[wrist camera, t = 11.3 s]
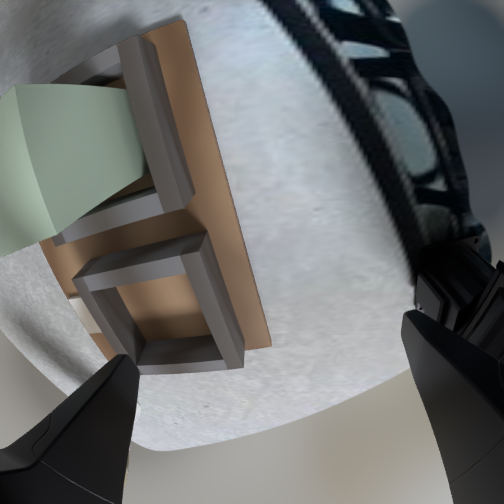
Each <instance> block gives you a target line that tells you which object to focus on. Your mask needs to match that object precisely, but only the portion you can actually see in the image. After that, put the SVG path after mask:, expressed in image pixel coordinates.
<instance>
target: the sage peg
mask: <svg viewBox="0 0 504 504" xmlns="http://www.w3.org/2000/svg"><path fill="white" fill-rule="evenodd" d="M149 172H150V169H149V166H148V163H147V160H146V156H145V153H144V150H143V146H142V143H141V140H140V136H139V133H138V129H137V126H136V122H135V118H134V115H133V111H132V107H131V103H130V100H129V96H128V92H127V89H119V88H110V87H100V86H87V85H70V84H16V85H14V86H13V87H11V88H10V89H9V90H8V91H7V92H6V93H5V94H4V95H3V96H2V97H1V98H0V258H2V257H4V256H6V255H8V254H11V253H13V252H15V251H18V250H20V249H22V248H25V247H27V246H30V245H32V244H34V243H37V242H39V241H42V240H44V239H47V238H50V237H52V236H55V235H57V234H59V233H60V232H61V231H62V230H64V229H65V228H66V227H68V226H69V225H70V224H72V223H73V222H74V221H76V220H77V219H79V218H80V217H81V216H83V215H84V214H86V213H87V212H88V211H90V210H91V209H93V208H94V207H96V206H97V205H98V204H100V203H101V202H103V201H104V200H106V199H107V198H109V197H110V196H112V195H113V194H115V193H117V192H118V191H120V190H121V189H123V188H124V187H126V186H127V185H129V184H131V183H132V182H134V181H136V180H137V179H139V178H140V177H142V176H144V175H145V174H147V173H149Z"/></svg>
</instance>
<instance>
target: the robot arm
mask: <svg viewBox="0 0 504 504" xmlns="http://www.w3.org/2000/svg"><path fill="white" fill-rule="evenodd" d="M479 243H480V237H479V236H478V235H477V234H472V235H468V236H464V237H460V238H456V239H452V240H448V241H444V242H440V243H436V244H432V245H428V246H425V247H424V248H423V249H422V250H421V257H420V270H419V274H418V280H417V289H416V305H415V308H416V309H414V310H410V311H406V312H405V313H404V314H403V320H402V328H401V338H402V341H403V344H404V347H405V351H406V354H407V357H408V361H409V364H410V368H411V371H412V375H413V378H414V381H415V384H416V386H417V389H418V391H419V394H420V396H421V399H422V401H423V404H424V407H425V409H426V412H427V415H428V417H429V420H430V423H431V426H432V429H433V432H434V435H435V438H436V441H437V444H438V447H439V451H440V454H441V457H442V460H443V464H444V467H445V471H446V475H447V478H448V482H449V486H450V490H451V495H452V498H453V503H454V504H504V262H503V261H501V260H499V262H498V263H497V265H496V267H497V268H496V269H495V268H494V267H493V266H492V265H491V264H490V263H489V262H488V261H486V260H485V259H484V258H483V257H482V256H481V255H480V254H478V250H479ZM427 251H428V253H427V254H426V252H427ZM423 311H425V313H426V314H427V315H426V314H424V313H422V312H423ZM139 379H140V372H139V369H138V367H137V366H136V364H135V363H134V362H133V360H132V359H131V357H130V356H129V355H128V354H117V355H116V356H114V357H113V358H112V359H111V360H110V361H109V362H108V363H106V364H105V365H104V366H103V367H102V368H101V369H100V370H98V371H97V372H96V373H95V374H94V375H93V376H92V377H90V378H89V379H88V380H87V381H86V382H85V383H84V384H82V385H81V386H80V387H79V388H78V389H77V390H76V391H74V392H73V393H72V394H71V395H70V396H69V397H68V398H67V399H65V400H64V401H63V402H62V403H61V404H60V405H59V406H58V407H56V408H55V409H54V410H53V411H52V413H50V414H49V415H47V416H46V417H45V418H44V419H43V420H42V421H41V422H40V423H38V424H37V425H36V426H35V427H33V428H32V429H31V430H30V431H28V432H27V433H26V434H24V435H23V436H22V437H20V438H19V439H18V440H16V441H15V442H14V443H12V444H11V445H9V446H8V447H6V448H3V449H0V504H122V498H123V489H124V482H125V474H126V467H127V461H128V454H129V448H130V442H131V437H132V431H133V426H134V420H135V415H136V408H137V398H138V388H139Z"/></svg>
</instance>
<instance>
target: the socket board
mask: <svg viewBox="0 0 504 504" xmlns="http://www.w3.org/2000/svg"><path fill="white" fill-rule="evenodd" d="M50 84H70V85H87V86H100V87H110V88H119V89H127V92H128V96H129V100H130V103H131V107H132V111H133V115H134V118H135V122H136V126H137V129H138V133H139V136H140V140H141V143H142V146H143V150H144V153H145V156H146V160H147V163H148V166H149V169H150V172H149V173H147V174H145V175H144V176H142V177H140V178H139V179H137V180H136V181H134V182H132V183H131V184H129V185H127V186H126V187H124V188H123V189H121V190H120V191H118V192H117V193H115V194H113V195H112V196H110V197H109V198H107V199H106V200H104V201H103V202H101V203H100V204H98V205H97V206H96V207H94V208H93V209H91V210H90V211H88V212H87V213H86V214H84V215H83V216H81V217H80V218H79V219H77V220H76V221H74V222H73V223H72V224H70V225H69V226H68V227H66V228H65V229H64V230H62V231H61V232H60V233H59V234H57V235H55V236H52V237H50V238H47V239H44V240H42V241H39V244H40V246H41V248H42V250H43V253H44V255H45V257H46V259H47V261H48V263H49V265H50V267H51V269H52V271H53V273H54V275H55V277H56V279H57V281H58V283H59V284H60V286H61V288H62V290H63V292H64V293H65V295H66V297H67V299H68V300H69V302H70V304H71V306H72V307H73V309H74V311H75V312H76V314H77V316H78V317H79V319H80V320H81V322H82V324H83V325H84V327H85V328H86V330H87V331H88V333H89V334H90V336H91V337H92V339H93V340H94V342H95V343H96V345H97V346H98V347H99V349H100V350H101V352H102V353H103V355H104V356H105V357H106V359H107V360H108V361H110V360H111V359H112V358H113V357H114V356H116V355H117V354H128V355H129V356H130V357H131V359H132V360H133V362H134V363H135V364H136V366H137V367H138V369H139V372H140V375H157V374H180V373H196V372H208V371H219V370H229V369H238V368H244V351H245V350H252V349H259V348H265V347H271V346H272V344H271V337H270V333H269V330H268V326H267V323H266V319H265V315H264V312H263V308H262V304H261V301H260V297H259V294H258V290H257V286H256V283H255V279H254V275H253V272H252V268H251V264H250V261H249V257H248V253H247V250H246V246H245V242H244V239H243V235H242V231H241V228H240V224H239V220H238V217H237V213H236V209H235V206H234V202H233V198H232V195H231V191H230V187H229V183H228V180H227V176H226V172H225V169H224V165H223V161H222V157H221V154H220V150H219V146H218V142H217V139H216V135H215V131H214V127H213V124H212V120H211V116H210V112H209V109H208V105H207V101H206V97H205V94H204V90H203V86H202V82H201V78H200V75H199V71H198V67H197V63H196V59H195V56H194V52H193V48H192V44H191V40H190V37H189V33H188V29H187V25H186V22H185V21H184V20H183V19H182V20H179V21H176V22H174V23H171V24H168V25H165V26H163V27H160V28H157V29H155V30H152V31H150V32H147V33H145V34H143V35H140V36H138V35H135V36H132V37H130V38H128V39H126V40H124V41H122V42H120V43H118V44H116V45H114V46H112V47H110V48H108V49H106V50H104V51H102V52H100V53H98V54H96V55H95V56H93V57H91V58H89V59H88V60H86V61H84V62H82V63H81V64H79V65H78V66H76V67H74V68H73V69H71V70H69V71H68V72H66V73H65V74H63V75H62V76H60V77H59V78H57V79H56V80H54V81H53V82H52V83H50Z"/></svg>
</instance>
